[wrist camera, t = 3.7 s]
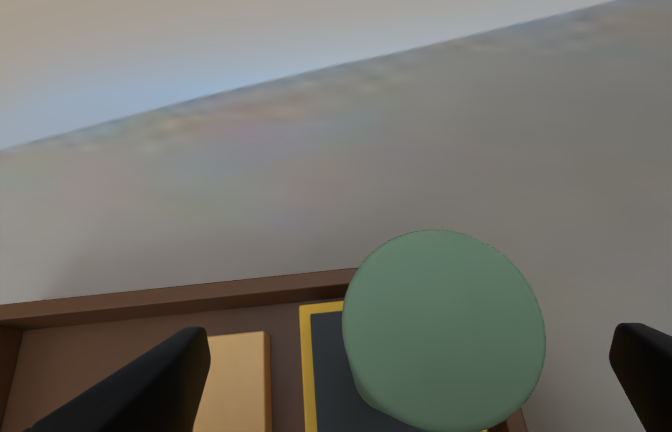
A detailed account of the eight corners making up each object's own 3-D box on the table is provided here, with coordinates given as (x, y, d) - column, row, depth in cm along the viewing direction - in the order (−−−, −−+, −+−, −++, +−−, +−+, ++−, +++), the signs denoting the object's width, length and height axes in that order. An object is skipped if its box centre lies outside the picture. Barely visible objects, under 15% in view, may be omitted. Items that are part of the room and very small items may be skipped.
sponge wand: (471, 446, 14) (843, 597, 3) (315, 462, 14) (172, 660, 3) (442, 304, 16) (609, 110, 5) (307, 318, 16) (202, 153, 5)
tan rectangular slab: (272, 449, 14) (266, 454, 13) (203, 456, 14) (190, 461, 13) (270, 335, 16) (263, 330, 15) (208, 341, 16) (197, 337, 15)
